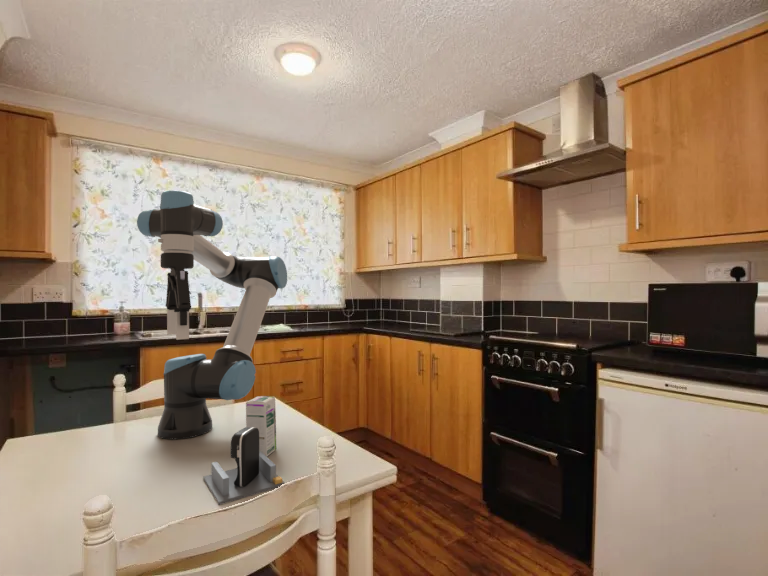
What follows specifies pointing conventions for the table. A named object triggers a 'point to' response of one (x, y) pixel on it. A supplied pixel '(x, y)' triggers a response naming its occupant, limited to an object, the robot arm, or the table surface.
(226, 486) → the dock
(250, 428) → the battery
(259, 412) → the syrup box
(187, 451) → the table surface
